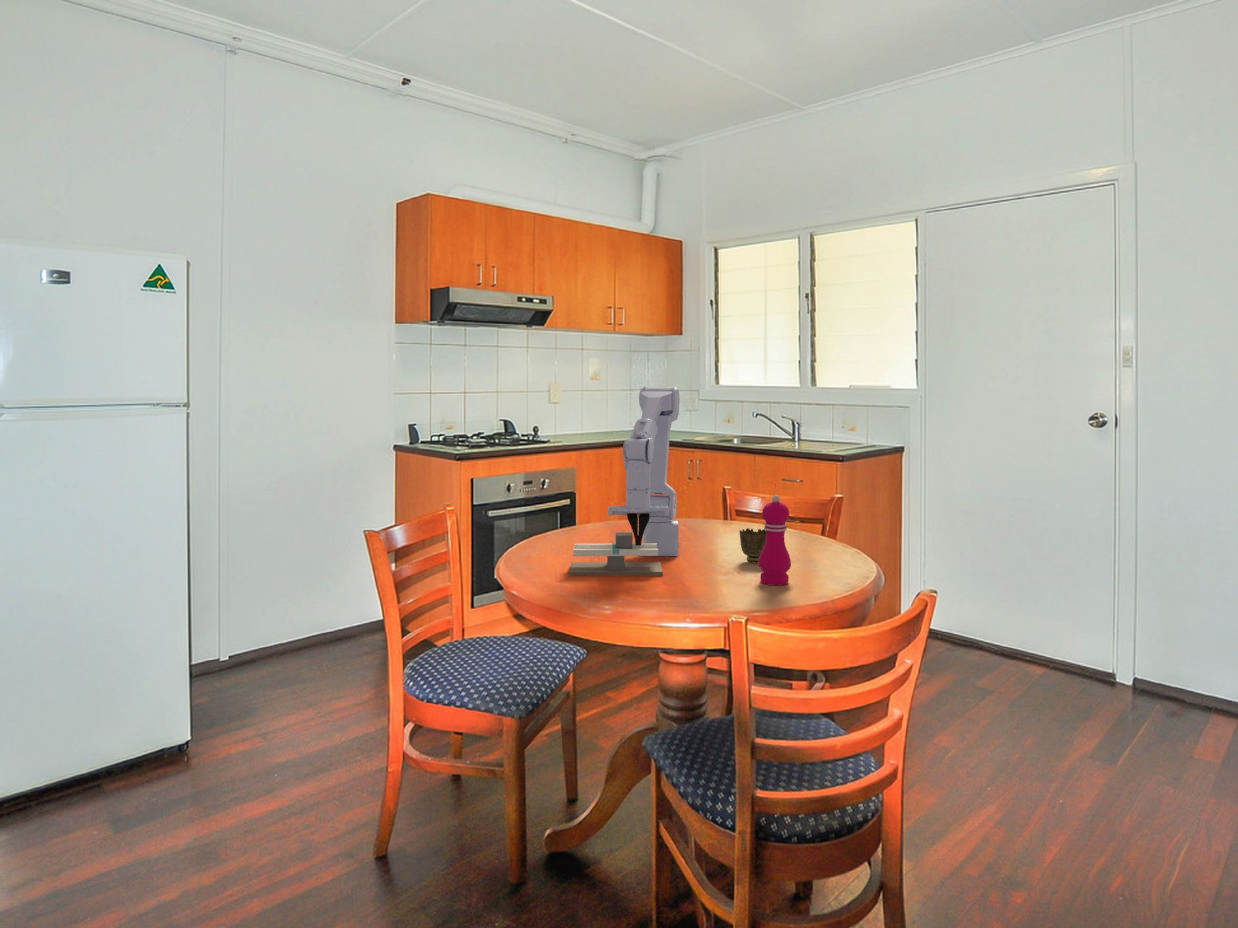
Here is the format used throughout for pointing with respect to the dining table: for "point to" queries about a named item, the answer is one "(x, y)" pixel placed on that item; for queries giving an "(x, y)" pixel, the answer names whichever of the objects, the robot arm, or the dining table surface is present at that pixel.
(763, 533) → the cup
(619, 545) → the rider
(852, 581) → the dining table surface
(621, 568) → the balance stand
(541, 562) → the dining table surface
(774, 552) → the pepper mill
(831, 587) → the dining table surface
